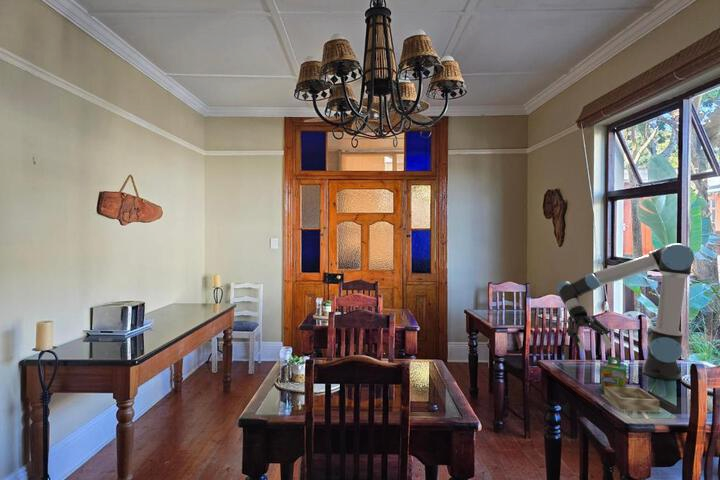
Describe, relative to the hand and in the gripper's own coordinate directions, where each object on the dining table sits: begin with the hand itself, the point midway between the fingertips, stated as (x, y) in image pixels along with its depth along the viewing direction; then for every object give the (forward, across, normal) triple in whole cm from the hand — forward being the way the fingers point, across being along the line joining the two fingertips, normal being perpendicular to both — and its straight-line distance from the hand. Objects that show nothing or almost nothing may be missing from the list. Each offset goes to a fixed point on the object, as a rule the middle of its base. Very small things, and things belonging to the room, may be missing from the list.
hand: (596, 347), depth 194 cm
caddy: (+28, +3, +6) cm, 29 cm away
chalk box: (+19, 0, -4) cm, 20 cm away
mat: (+29, +3, +6) cm, 29 cm away
